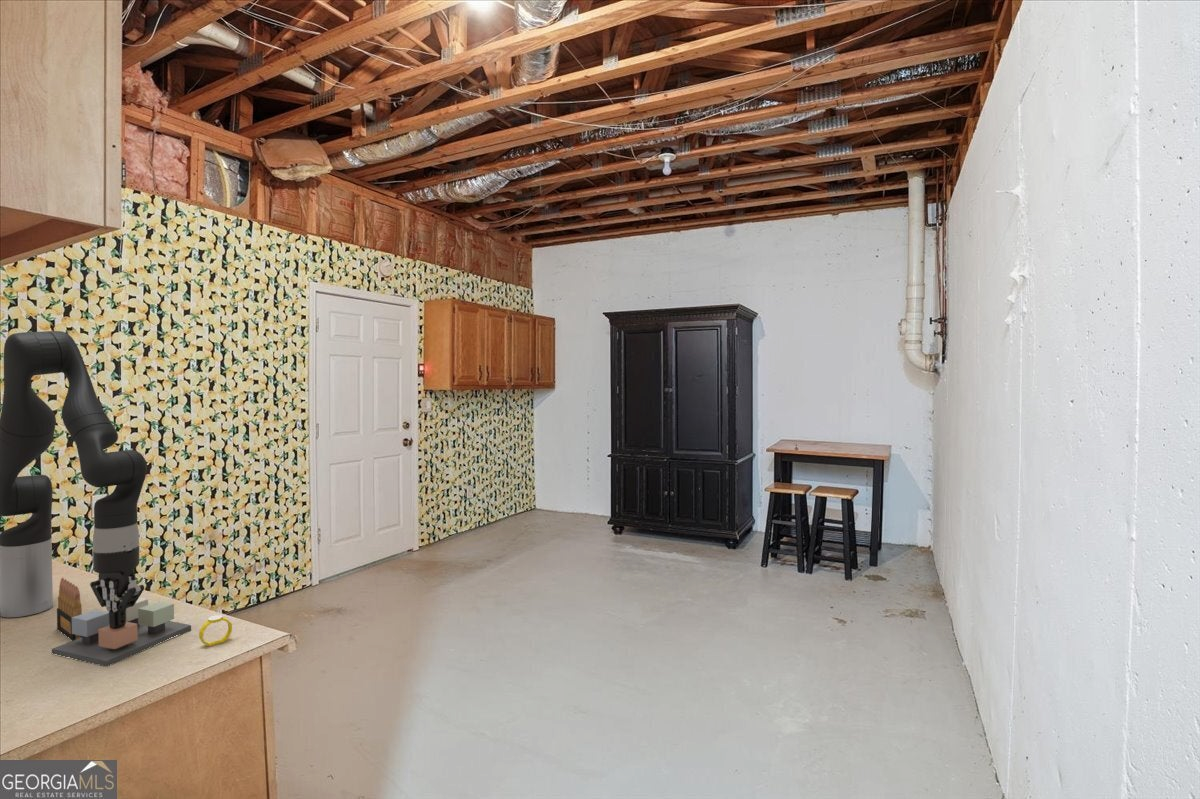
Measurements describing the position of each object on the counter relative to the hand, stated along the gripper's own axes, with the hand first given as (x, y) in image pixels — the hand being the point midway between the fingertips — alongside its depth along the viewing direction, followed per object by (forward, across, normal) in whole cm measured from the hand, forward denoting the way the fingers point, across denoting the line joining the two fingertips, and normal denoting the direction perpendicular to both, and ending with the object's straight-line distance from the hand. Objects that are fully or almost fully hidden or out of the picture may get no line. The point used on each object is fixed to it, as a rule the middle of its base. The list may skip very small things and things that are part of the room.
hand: (117, 627), depth 125 cm
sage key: (+2, 0, +8) cm, 8 cm away
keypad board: (+6, -4, +4) cm, 8 cm away
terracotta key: (+4, 0, 0) cm, 4 cm away
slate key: (+2, -8, 0) cm, 8 cm away
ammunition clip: (+6, -19, +3) cm, 20 cm away
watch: (+6, +15, +10) cm, 19 cm away
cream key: (+2, -8, +8) cm, 12 cm away
